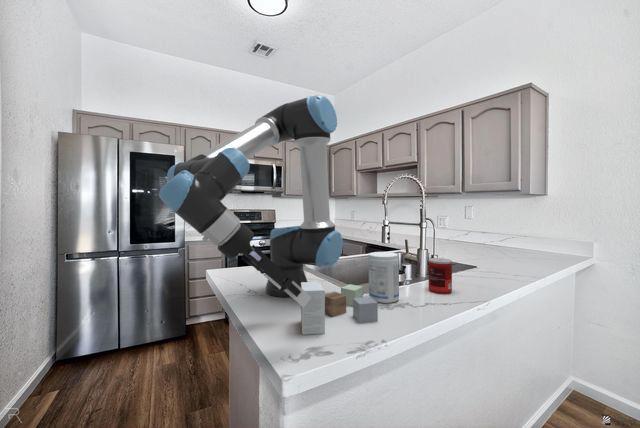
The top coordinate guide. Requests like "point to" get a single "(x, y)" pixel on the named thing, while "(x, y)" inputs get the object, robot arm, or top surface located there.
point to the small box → (313, 309)
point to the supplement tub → (383, 277)
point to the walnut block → (335, 304)
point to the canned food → (440, 275)
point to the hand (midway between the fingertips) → (295, 294)
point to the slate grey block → (365, 309)
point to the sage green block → (352, 293)
